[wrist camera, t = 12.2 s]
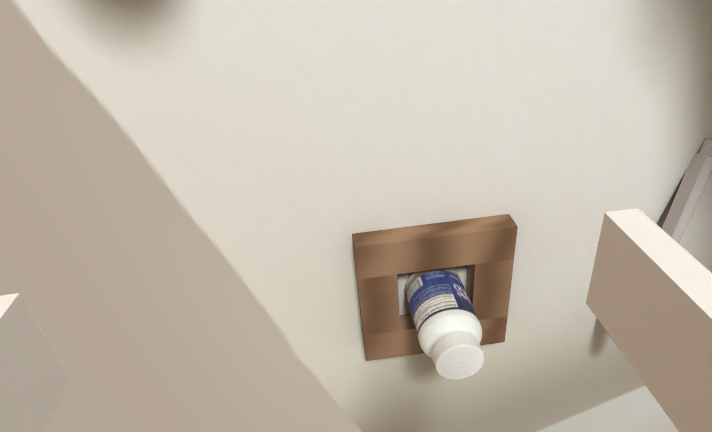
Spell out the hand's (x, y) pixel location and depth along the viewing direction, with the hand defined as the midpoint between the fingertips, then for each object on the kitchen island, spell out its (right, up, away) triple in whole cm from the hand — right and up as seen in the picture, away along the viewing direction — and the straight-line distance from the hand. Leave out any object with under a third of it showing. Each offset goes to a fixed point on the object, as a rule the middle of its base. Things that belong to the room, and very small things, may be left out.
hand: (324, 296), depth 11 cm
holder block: (+8, -5, +35) cm, 36 cm away
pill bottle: (+8, -5, +35) cm, 37 cm away
